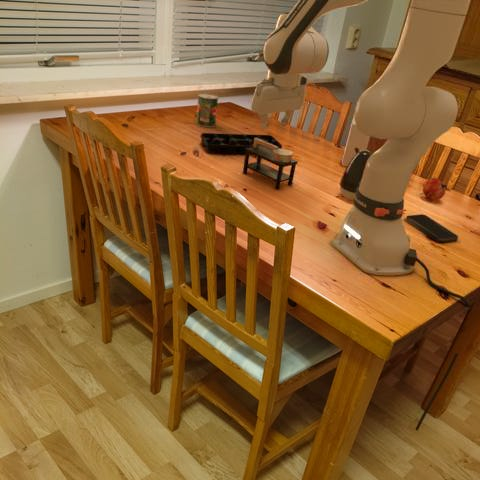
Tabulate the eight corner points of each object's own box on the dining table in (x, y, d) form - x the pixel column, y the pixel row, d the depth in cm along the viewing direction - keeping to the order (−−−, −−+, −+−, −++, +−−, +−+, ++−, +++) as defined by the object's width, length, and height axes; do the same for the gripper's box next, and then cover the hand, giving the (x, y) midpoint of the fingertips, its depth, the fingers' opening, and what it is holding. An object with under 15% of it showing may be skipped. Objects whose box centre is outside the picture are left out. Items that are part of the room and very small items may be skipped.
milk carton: (360, 169, 177) (375, 115, 166) (341, 166, 178) (355, 112, 166) (360, 163, 183) (375, 111, 171) (342, 160, 183) (355, 107, 172)
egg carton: (286, 155, 179) (288, 145, 177) (215, 160, 165) (216, 149, 163) (262, 140, 191) (263, 130, 188) (193, 143, 177) (194, 132, 174)
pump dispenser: (357, 191, 159) (370, 144, 150) (374, 204, 152) (389, 156, 143) (330, 191, 156) (342, 144, 147) (347, 205, 148) (361, 156, 139)
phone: (439, 239, 134) (405, 215, 144) (438, 243, 135) (403, 219, 145) (460, 237, 137) (424, 214, 147) (458, 240, 138) (423, 217, 148)
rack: (292, 185, 156) (297, 161, 151) (277, 190, 151) (282, 165, 146) (257, 168, 164) (260, 145, 159) (241, 172, 159) (244, 148, 154)
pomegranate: (413, 203, 163) (437, 196, 154) (412, 182, 163) (436, 173, 154) (429, 204, 166) (453, 197, 157) (428, 183, 166) (452, 175, 157)
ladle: (295, 161, 151) (296, 151, 149) (282, 164, 147) (284, 154, 145) (260, 146, 158) (261, 136, 156) (247, 148, 154) (249, 139, 153)
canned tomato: (194, 121, 199) (196, 92, 193) (212, 122, 202) (215, 93, 195) (198, 127, 194) (200, 97, 187) (217, 127, 196) (220, 99, 189)
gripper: (266, 82, 131) (258, 133, 140) (312, 78, 144) (302, 126, 152) (250, 76, 135) (243, 127, 143) (296, 73, 147) (287, 120, 156)
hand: (274, 126), depth 148 cm, fingers open, 8 cm apart
